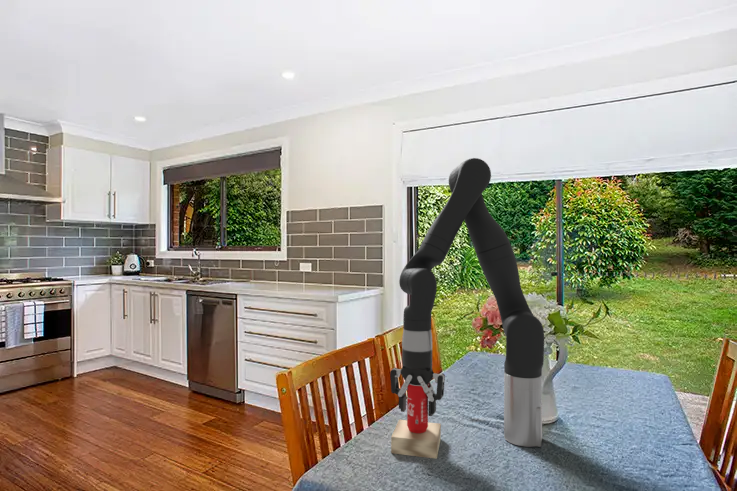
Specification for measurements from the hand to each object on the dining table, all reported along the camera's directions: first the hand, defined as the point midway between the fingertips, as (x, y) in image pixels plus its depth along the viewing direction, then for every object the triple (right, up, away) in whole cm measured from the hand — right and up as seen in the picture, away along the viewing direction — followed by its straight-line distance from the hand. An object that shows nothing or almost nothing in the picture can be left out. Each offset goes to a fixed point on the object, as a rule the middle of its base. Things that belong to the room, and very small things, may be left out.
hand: (416, 412), depth 111 cm
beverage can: (0, -5, 0) cm, 5 cm away
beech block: (0, -8, 0) cm, 8 cm away
